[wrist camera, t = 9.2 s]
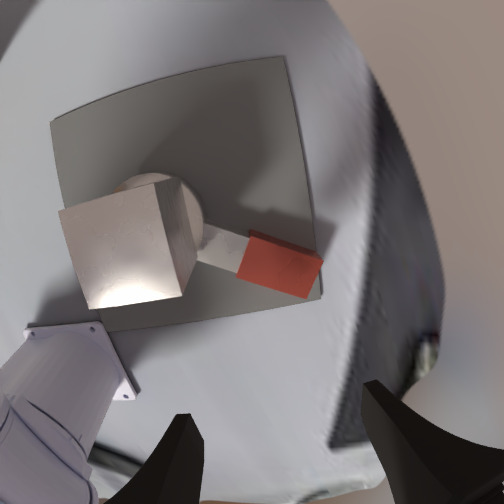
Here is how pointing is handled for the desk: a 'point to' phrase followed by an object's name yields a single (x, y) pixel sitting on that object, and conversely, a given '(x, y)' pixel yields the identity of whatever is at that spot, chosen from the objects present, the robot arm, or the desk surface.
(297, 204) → the mat
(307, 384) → the desk surface
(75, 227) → the pale grey cube
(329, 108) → the desk surface
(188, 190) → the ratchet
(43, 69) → the desk surface
